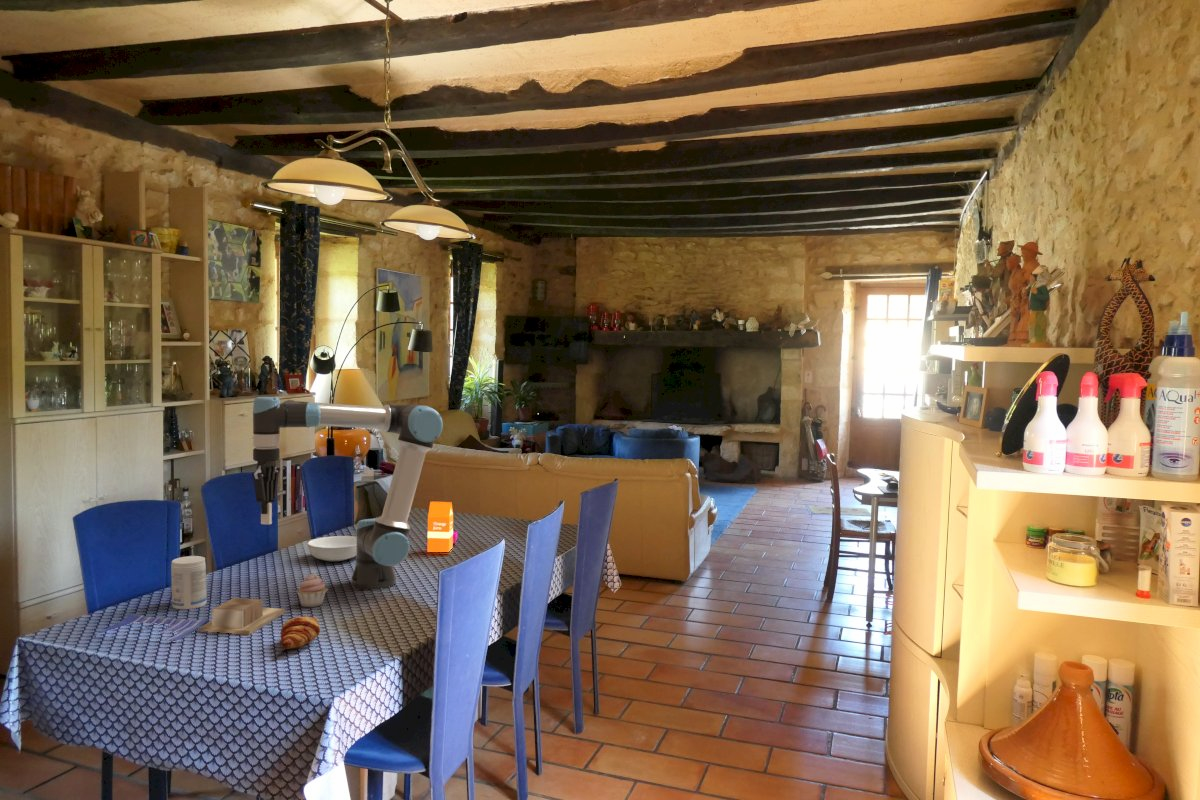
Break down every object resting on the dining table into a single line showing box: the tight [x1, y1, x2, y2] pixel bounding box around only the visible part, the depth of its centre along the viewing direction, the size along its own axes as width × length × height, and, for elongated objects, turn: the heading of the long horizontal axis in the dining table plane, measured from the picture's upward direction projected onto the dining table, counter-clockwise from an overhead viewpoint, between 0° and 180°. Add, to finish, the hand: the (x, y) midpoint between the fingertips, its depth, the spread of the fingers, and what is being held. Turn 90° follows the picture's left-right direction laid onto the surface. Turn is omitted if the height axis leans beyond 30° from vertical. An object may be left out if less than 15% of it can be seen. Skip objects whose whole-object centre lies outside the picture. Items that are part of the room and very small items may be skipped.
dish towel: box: [98, 613, 209, 641], centre depth 228 cm, size 17×24×3 cm
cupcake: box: [296, 573, 329, 608], centre depth 256 cm, size 9×9×10 cm
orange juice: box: [426, 501, 454, 552], centre depth 329 cm, size 8×9×20 cm
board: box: [198, 607, 286, 636], centre depth 238 cm, size 15×20×1 cm
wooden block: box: [211, 597, 264, 628], centre depth 235 cm, size 9×5×11 cm
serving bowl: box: [307, 535, 357, 562], centre depth 313 cm, size 21×21×7 cm
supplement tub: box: [170, 555, 208, 610], centre depth 251 cm, size 10×10×15 cm
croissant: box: [279, 615, 321, 650], centre depth 223 cm, size 21×10×8 cm
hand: (266, 523), depth 250 cm, fingers closed
